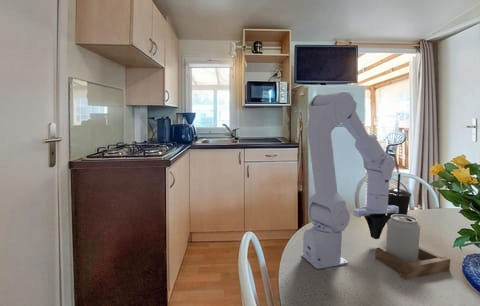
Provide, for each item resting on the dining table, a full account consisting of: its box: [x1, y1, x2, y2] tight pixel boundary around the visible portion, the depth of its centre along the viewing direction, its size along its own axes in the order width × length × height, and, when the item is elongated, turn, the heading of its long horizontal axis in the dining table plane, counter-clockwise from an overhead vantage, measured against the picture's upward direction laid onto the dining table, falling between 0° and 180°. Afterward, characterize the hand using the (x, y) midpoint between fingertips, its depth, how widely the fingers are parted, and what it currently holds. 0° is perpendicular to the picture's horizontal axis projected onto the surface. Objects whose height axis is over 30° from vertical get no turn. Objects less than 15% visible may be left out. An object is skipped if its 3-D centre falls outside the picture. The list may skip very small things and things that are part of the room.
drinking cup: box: [386, 173, 412, 225], centre depth 94 cm, size 8×8×20 cm
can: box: [385, 214, 421, 263], centre depth 75 cm, size 8×8×12 cm
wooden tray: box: [374, 246, 451, 281], centre depth 73 cm, size 14×10×3 cm
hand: (375, 237), depth 84 cm, fingers closed
